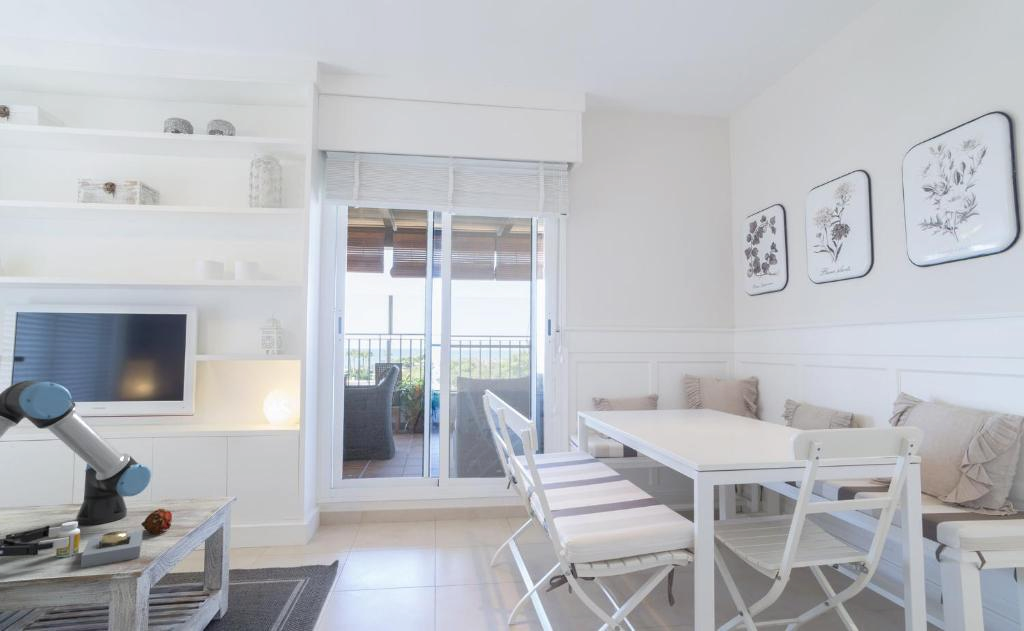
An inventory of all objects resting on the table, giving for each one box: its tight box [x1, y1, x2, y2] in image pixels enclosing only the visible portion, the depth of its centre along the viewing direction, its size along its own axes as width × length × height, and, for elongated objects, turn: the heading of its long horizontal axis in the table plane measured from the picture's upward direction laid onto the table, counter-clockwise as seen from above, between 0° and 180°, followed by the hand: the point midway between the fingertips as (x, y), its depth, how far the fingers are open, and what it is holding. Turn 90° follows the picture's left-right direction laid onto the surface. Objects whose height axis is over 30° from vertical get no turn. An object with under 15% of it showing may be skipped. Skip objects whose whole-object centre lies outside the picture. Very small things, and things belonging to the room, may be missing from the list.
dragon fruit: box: [141, 508, 173, 534], centre depth 179 cm, size 8×8×12 cm
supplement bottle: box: [55, 520, 81, 558], centre depth 158 cm, size 5×5×10 cm
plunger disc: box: [101, 530, 128, 546], centre depth 159 cm, size 6×6×2 cm
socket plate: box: [80, 530, 144, 569], centre depth 159 cm, size 16×14×4 cm
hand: (72, 535), depth 159 cm, fingers open, 13 cm apart
